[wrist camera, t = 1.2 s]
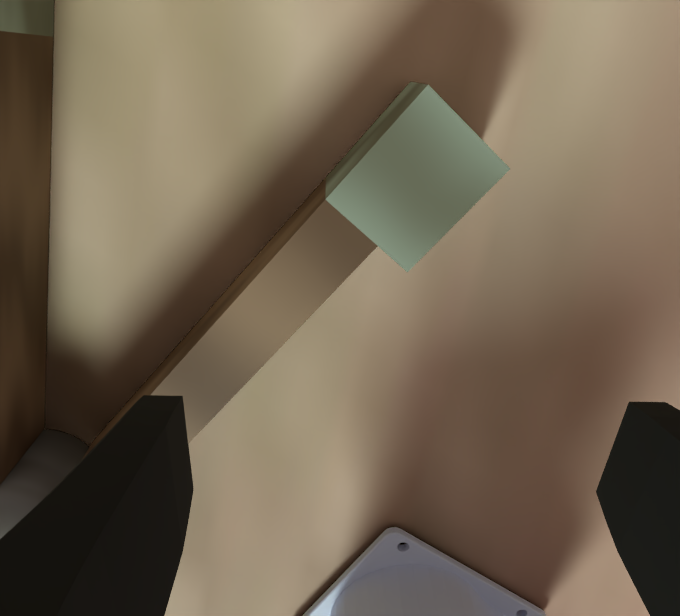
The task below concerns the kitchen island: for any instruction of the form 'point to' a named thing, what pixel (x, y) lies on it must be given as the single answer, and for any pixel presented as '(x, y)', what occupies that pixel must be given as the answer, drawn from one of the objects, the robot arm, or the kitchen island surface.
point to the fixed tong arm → (26, 263)
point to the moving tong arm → (332, 246)
